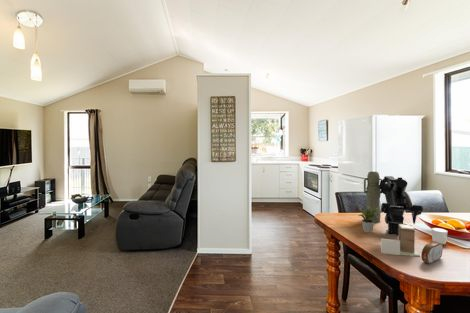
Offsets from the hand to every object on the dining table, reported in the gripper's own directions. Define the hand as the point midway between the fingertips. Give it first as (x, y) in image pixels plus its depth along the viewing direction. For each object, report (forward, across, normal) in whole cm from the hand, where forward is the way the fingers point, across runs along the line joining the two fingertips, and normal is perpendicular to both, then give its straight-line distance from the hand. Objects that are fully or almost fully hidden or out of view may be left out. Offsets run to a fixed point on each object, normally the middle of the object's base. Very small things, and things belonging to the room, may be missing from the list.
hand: (403, 222), depth 129 cm
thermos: (-23, +7, -43) cm, 49 cm away
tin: (+18, -9, -1) cm, 20 cm away
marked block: (+12, 0, -6) cm, 14 cm away
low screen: (+16, +8, -3) cm, 18 cm away
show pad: (+13, 0, -6) cm, 14 cm away
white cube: (-1, -20, -20) cm, 29 cm away
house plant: (-6, +13, -26) cm, 29 cm away
